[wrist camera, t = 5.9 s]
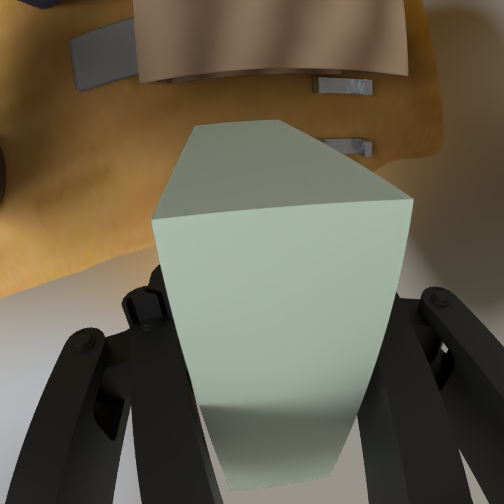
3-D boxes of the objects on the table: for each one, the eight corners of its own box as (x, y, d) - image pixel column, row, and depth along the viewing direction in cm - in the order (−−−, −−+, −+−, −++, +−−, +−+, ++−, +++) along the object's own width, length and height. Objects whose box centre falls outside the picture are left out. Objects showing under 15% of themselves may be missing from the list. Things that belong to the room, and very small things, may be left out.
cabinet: (164, 84, 32) (139, 83, 20) (158, 15, 28) (132, -20, 16) (345, 74, 34) (408, 75, 22) (341, 10, 29) (401, -15, 17)
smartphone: (68, 39, 26) (188, 4, 27) (71, 39, 27) (188, 6, 28) (76, 93, 30) (196, 61, 31) (79, 93, 31) (196, 62, 32)
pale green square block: (217, 314, 17) (231, 491, 9) (195, 125, 12) (151, 219, 4) (297, 305, 18) (354, 469, 9) (299, 118, 13) (460, 197, 4)
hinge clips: (314, 154, 39) (320, 158, 37) (311, 77, 34) (318, 77, 32) (363, 152, 39) (371, 156, 37) (363, 79, 34) (372, 79, 32)
